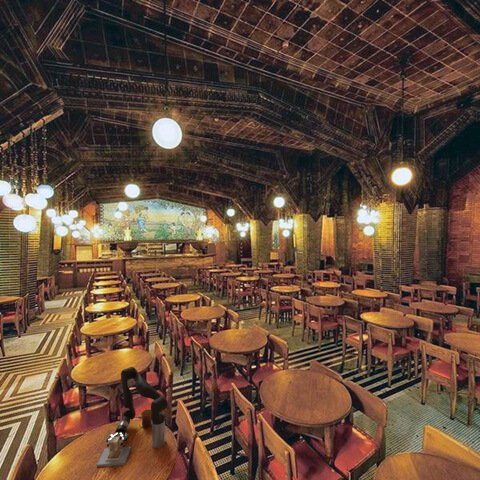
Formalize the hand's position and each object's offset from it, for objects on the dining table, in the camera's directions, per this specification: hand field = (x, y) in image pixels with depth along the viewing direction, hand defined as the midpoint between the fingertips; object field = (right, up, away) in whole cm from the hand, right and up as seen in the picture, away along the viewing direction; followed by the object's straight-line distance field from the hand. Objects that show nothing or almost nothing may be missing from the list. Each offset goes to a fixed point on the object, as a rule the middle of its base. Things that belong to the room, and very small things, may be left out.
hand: (114, 445), depth 189 cm
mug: (+13, -9, +34) cm, 38 cm away
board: (0, -9, +1) cm, 9 cm away
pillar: (0, -7, +1) cm, 8 cm away
